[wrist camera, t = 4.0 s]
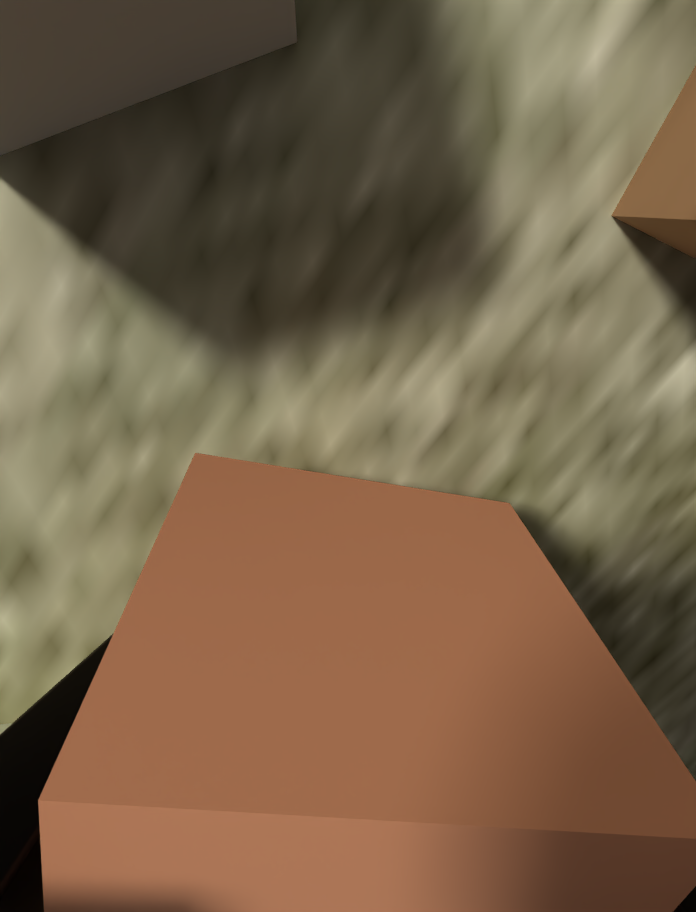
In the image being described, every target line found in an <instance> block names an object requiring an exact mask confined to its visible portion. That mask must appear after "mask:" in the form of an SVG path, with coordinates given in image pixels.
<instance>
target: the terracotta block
mask: <svg viewBox="0 0 696 912" xmlns="http://www.w3.org/2000/svg"><path fill="white" fill-rule="evenodd" d="M38 807H39V826H40V845H41V864H42V882H43V901H44V912H673V911H674V910H675V909H676V908H677V907H678V905H679V904H680V903H681V902H682V901H683V900H684V899H685V898H686V896H687V895H688V894H689V893H690V892H691V891H692V890H693V889H694V887H695V886H696V781H695V779H694V778H693V776H692V775H691V773H690V772H689V770H688V769H687V767H686V766H685V765H684V763H683V762H682V760H681V759H680V757H679V756H678V754H677V753H676V751H675V750H674V748H673V747H672V745H671V744H670V742H669V741H668V739H667V738H666V736H665V735H664V733H663V732H662V730H661V729H660V727H659V726H658V724H657V723H656V721H655V720H654V718H653V717H652V715H651V714H650V712H649V711H648V709H647V708H646V706H645V705H644V703H643V702H642V700H641V699H640V697H639V696H638V694H637V693H636V691H635V690H634V688H633V687H632V685H631V684H630V682H629V681H628V679H627V678H626V676H625V675H624V673H623V672H622V670H621V669H620V667H619V666H618V664H617V663H616V661H615V660H614V658H613V657H612V655H611V654H610V652H609V651H608V649H607V648H606V646H605V645H604V643H603V642H602V640H601V639H600V638H599V636H598V635H597V633H596V632H595V630H594V629H593V627H592V626H591V624H590V623H589V621H588V620H587V618H586V617H585V615H584V614H583V612H582V611H581V609H580V608H579V606H578V605H577V603H576V602H575V600H574V599H573V597H572V596H571V594H570V593H569V591H568V590H567V588H566V587H565V585H564V584H563V582H562V581H561V579H560V578H559V576H558V575H557V573H556V572H555V570H554V569H553V567H552V566H551V564H550V563H549V561H548V560H547V558H546V557H545V555H544V554H543V552H542V551H541V549H540V548H539V546H538V545H537V543H536V542H535V540H534V539H533V537H532V536H531V534H530V533H529V531H528V530H527V528H526V527H525V525H524V524H523V522H522V521H521V519H520V518H519V516H518V515H517V513H516V512H515V510H514V509H513V508H512V506H511V505H510V503H505V502H499V501H493V500H486V499H480V498H474V497H468V496H461V495H455V494H449V493H443V492H436V491H430V490H424V489H418V488H411V487H405V486H399V485H393V484H386V483H380V482H374V481H368V480H361V479H355V478H349V477H343V476H336V475H330V474H324V473H318V472H311V471H305V470H299V469H293V468H286V467H280V466H274V465H268V464H261V463H255V462H249V461H243V460H236V459H230V458H224V457H218V456H211V455H205V454H199V453H195V455H194V457H193V459H192V461H191V464H190V466H189V468H188V470H187V472H186V475H185V477H184V479H183V481H182V483H181V486H180V488H179V490H178V492H177V495H176V497H175V499H174V501H173V503H172V506H171V508H170V510H169V512H168V514H167V517H166V519H165V521H164V523H163V525H162V528H161V530H160V532H159V534H158V537H157V539H156V541H155V543H154V545H153V548H152V550H151V552H150V554H149V556H148V559H147V561H146V563H145V565H144V567H143V570H142V572H141V574H140V576H139V579H138V581H137V583H136V585H135V587H134V590H133V592H132V594H131V596H130V598H129V601H128V603H127V605H126V607H125V609H124V612H123V614H122V616H121V618H120V621H119V623H118V625H117V627H116V629H115V632H114V634H113V636H112V638H111V640H110V643H109V645H108V647H107V649H106V652H105V654H104V656H103V658H102V660H101V663H100V665H99V667H98V669H97V671H96V674H95V676H94V678H93V680H92V682H91V685H90V687H89V689H88V691H87V694H86V696H85V698H84V700H83V702H82V705H81V707H80V709H79V711H78V713H77V716H76V718H75V720H74V722H73V724H72V727H71V729H70V731H69V733H68V736H67V738H66V740H65V742H64V744H63V747H62V749H61V751H60V753H59V755H58V758H57V760H56V762H55V764H54V766H53V769H52V771H51V773H50V775H49V778H48V780H47V782H46V784H45V786H44V789H43V791H42V793H41V795H40V797H39V800H38Z"/></svg>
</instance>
